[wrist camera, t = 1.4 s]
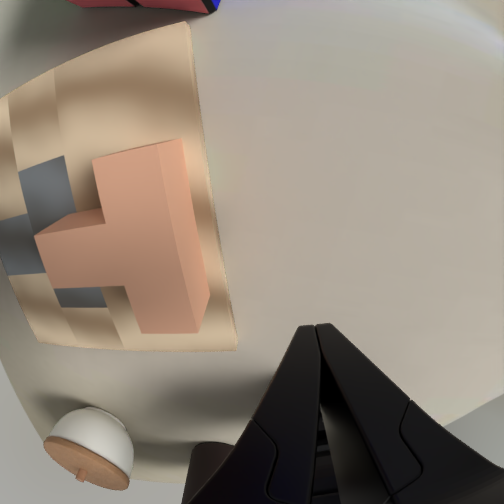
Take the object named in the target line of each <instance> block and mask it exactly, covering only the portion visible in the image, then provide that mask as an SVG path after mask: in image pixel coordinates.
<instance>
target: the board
mask: <svg viewBox="0 0 504 504" xmlns="http://www.w3.org/2000/svg"><path fill="white" fill-rule="evenodd" d="M180 138H182V143H183V150H184V156H185V163H186V169H187V175H188V181H189V187H190V193H191V198H192V204H193V210H194V215H195V221H196V226H197V232H198V237H199V242H200V247H201V252H202V257H203V262H204V267H205V272H206V277H207V282H208V287H209V291H210V297H209V300H208V304H207V307H206V310H205V313H204V316H203V320H202V323H201V326H200V329H199V333H192V334H141V331H140V329H139V326H138V323H137V321H136V318H135V315H134V312H133V310H132V307H131V304H130V301H129V298H128V295H127V293H126V290H125V287H124V286H105V287H82V288H55V289H53V288H52V286H51V283H50V281H49V278H48V276H47V273H46V270H45V268H44V265H43V262H42V259H41V256H40V253H39V250H38V247H37V244H36V241H35V238H34V235H36V234H37V233H39V232H41V231H42V230H44V229H45V228H47V227H48V226H50V225H52V224H53V223H55V222H57V221H58V220H60V219H61V218H63V217H65V216H66V215H68V214H72V213H77V212H82V211H87V210H92V209H97V208H102V206H101V202H100V198H99V193H98V189H97V184H96V180H95V175H94V170H93V165H92V159H96V158H99V157H102V156H106V155H109V154H112V153H116V152H119V151H123V150H127V149H131V148H135V147H140V146H144V145H149V144H154V143H159V142H164V141H169V140H174V139H180ZM0 257H1V260H2V262H3V265H4V268H5V270H6V273H7V276H8V278H9V281H10V283H11V285H12V288H13V290H14V293H15V295H16V297H17V299H18V302H19V304H20V306H21V308H22V310H23V312H24V314H25V317H26V319H27V321H28V323H29V325H30V327H31V329H32V331H33V332H34V334H35V336H36V338H37V340H38V342H39V343H45V344H54V345H63V346H73V347H84V348H97V349H111V350H130V351H160V352H215V351H236V350H237V343H238V339H237V334H236V328H235V323H234V318H233V312H232V307H231V301H230V296H229V290H228V285H227V279H226V273H225V268H224V262H223V256H222V250H221V244H220V238H219V232H218V226H217V220H216V214H215V208H214V201H213V195H212V188H211V182H210V175H209V169H208V162H207V155H206V148H205V141H204V134H203V127H202V120H201V112H200V105H199V97H198V89H197V82H196V74H195V65H194V57H193V49H192V40H191V31H190V26H189V25H188V24H187V23H186V22H185V21H184V22H179V23H175V24H171V25H167V26H163V27H160V28H156V29H153V30H149V31H146V32H142V33H139V34H136V35H133V36H130V37H127V38H124V39H121V40H118V41H115V42H113V43H110V44H107V45H105V46H102V47H100V48H97V49H95V50H92V51H90V52H87V53H85V54H83V55H80V56H78V57H76V58H74V59H71V60H69V61H67V62H65V63H63V64H61V65H59V66H57V67H55V68H53V69H51V70H49V71H47V72H45V73H43V74H41V75H39V76H37V77H36V78H34V79H32V80H30V81H28V82H27V83H25V84H23V85H21V86H20V87H18V88H16V89H15V90H13V91H12V92H10V93H8V94H7V95H5V96H4V97H2V98H1V99H0Z"/></svg>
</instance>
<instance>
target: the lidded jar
mask: <svg viewBox="0 0 504 504" xmlns="http://www.w3.org/2000/svg"><path fill="white" fill-rule="evenodd" d="M44 448H45V450H46V452H47V453H48V454H49V455H50V456H51V458H52V459H53V460H55V461H56V462H57V463H58V464H59V465H61V466H62V467H64V468H65V469H66V470H68V471H69V472H71V473H73V474H74V475H76V479H77V480H78V481H80V482H84V480H86V481H88V482H90V483H92V484H95V485H97V486H101V487H103V488H107V489H112V490H125V489H127V488H128V486H129V482H130V481H129V479H130V476H131V472H132V469H133V463H134V449H133V444H132V441H131V439H130V437H129V435H128V433H127V430H126V427H125V425H124V424H123V423H122V422H121V421H120V420H119V419H118V418H116V417H115V416H113V415H112V414H110V413H108V412H106V411H104V410H102V409H99V408H96V407H85V408H84V409H77V410H73V411H71V412H69V413H67V414H65V415H64V416H63V417H62V418H61V419H60V420H59V421H58V422H57V423H56V425H55V426H54V427H53V429H52V431H51V432H50V434H49V436H48V437H47V438H46V440H45V441H44Z"/></svg>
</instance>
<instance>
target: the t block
mask: <svg viewBox="0 0 504 504" xmlns="http://www.w3.org/2000/svg"><path fill="white" fill-rule="evenodd" d="M92 165H93V170H94V175H95V180H96V184H97V189H98V193H99V198H100V202H101V206H102V208H97V209H92V210H87V211H82V212H77V213H72V214H68V215H66V216H65V217H63V218H61V219H60V220H58V221H57V222H55V223H53V224H52V225H50V226H48V227H47V228H45V229H44V230H42V231H41V232H39V233H37V234H36V235H34V238H35V241H36V244H37V247H38V250H39V253H40V256H41V259H42V262H43V265H44V268H45V270H46V273H47V276H48V278H49V281H50V283H51V286H52V288H53V289H55V288H82V287H105V286H124V287H125V290H126V293H127V295H128V298H129V301H130V304H131V307H132V310H133V312H134V315H135V318H136V321H137V323H138V326H139V329H140V331H141V334H192V333H199V329H200V326H201V323H202V320H203V316H204V313H205V310H206V307H207V304H208V300H209V297H210V291H209V287H208V282H207V277H206V272H205V267H204V262H203V257H202V252H201V247H200V242H199V237H198V232H197V226H196V221H195V215H194V210H193V204H192V198H191V193H190V187H189V181H188V175H187V169H186V163H185V156H184V150H183V143H182V138H180V139H174V140H169V141H164V142H159V143H154V144H149V145H144V146H140V147H135V148H131V149H127V150H123V151H119V152H116V153H112V154H109V155H106V156H102V157H99V158H96V159H92Z"/></svg>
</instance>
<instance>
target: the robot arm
mask: <svg viewBox="0 0 504 504" xmlns="http://www.w3.org/2000/svg"><path fill="white" fill-rule="evenodd" d="M187 504H504V468H501V467H499V466H497V465H495V464H494V463H492V462H490V461H489V460H487V459H486V458H484V457H483V456H482V455H480V454H479V453H477V452H476V451H474V450H473V449H472V448H470V447H469V446H467V445H466V444H465V443H463V442H462V441H461V440H459V439H458V438H456V437H455V436H454V435H452V434H451V433H450V432H448V431H447V430H446V429H445V428H443V427H442V426H441V425H440V424H438V423H437V422H436V421H435V420H434V419H432V418H431V417H430V416H429V415H428V414H427V413H426V412H425V411H423V410H422V409H421V408H420V407H419V406H418V405H417V404H416V403H415V402H414V401H413V400H410V398H409V397H408V396H407V395H406V394H405V393H404V392H403V391H402V390H401V389H400V388H399V387H398V386H397V385H396V384H395V383H394V382H393V381H391V380H390V379H389V378H388V377H387V376H386V375H385V374H384V373H383V372H382V371H381V370H380V369H379V368H378V367H377V366H376V365H375V364H374V363H372V362H371V361H370V360H369V359H368V358H367V357H366V356H365V355H364V354H363V353H362V352H361V351H360V350H359V349H358V348H357V347H356V346H355V345H353V344H352V343H351V342H350V341H349V340H348V339H347V338H346V337H345V336H344V335H343V334H342V333H341V332H340V331H339V330H338V329H337V328H335V327H334V326H333V325H332V324H331V323H324V324H317V325H315V326H314V325H303V326H299V327H298V328H297V330H296V332H295V334H294V336H293V338H292V340H291V342H290V345H289V347H288V349H287V351H286V353H285V355H284V357H283V359H282V361H281V363H280V365H279V367H278V369H277V371H276V373H275V374H274V376H273V378H272V380H271V382H270V384H269V386H268V388H267V390H266V392H265V394H264V396H263V397H262V399H261V401H260V403H259V405H258V407H257V409H256V410H255V412H254V414H253V416H252V420H250V421H249V423H248V425H247V426H246V428H245V430H244V432H243V433H242V435H241V436H240V438H239V440H238V441H237V443H236V444H235V446H234V448H233V449H232V451H231V452H230V453H229V455H228V456H227V457H226V459H225V460H224V461H223V462H222V464H221V465H220V466H219V468H218V469H217V470H216V471H215V472H214V474H213V475H212V476H211V477H210V478H209V479H208V481H207V482H206V483H205V484H204V485H203V486H202V487H201V489H200V490H199V491H198V492H197V493H196V494H195V495H194V496H193V498H192V499H191V500H190V501H189V502H188V503H187Z"/></svg>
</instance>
